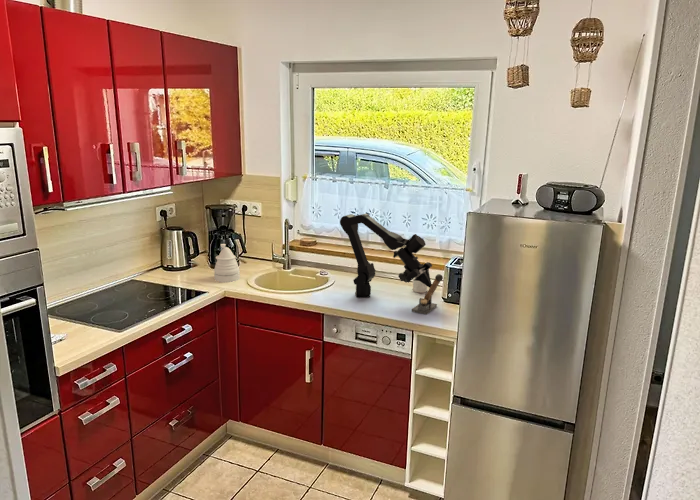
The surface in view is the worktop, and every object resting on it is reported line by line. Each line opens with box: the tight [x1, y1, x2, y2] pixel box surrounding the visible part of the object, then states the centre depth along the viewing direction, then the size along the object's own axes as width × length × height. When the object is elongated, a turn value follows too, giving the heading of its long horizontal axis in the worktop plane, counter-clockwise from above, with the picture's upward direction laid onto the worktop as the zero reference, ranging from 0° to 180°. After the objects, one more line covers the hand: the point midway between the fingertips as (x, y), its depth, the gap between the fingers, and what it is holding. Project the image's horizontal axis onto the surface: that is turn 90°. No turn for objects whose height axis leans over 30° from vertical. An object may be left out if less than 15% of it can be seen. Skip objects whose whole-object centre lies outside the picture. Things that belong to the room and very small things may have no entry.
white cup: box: [412, 278, 428, 294], centre depth 256 cm, size 8×8×10 cm
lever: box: [423, 273, 444, 303], centre depth 230 cm, size 3×4×15 cm
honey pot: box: [213, 243, 241, 283], centre depth 269 cm, size 13×13×18 cm
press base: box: [411, 293, 438, 315], centre depth 231 cm, size 7×12×6 cm, turn 150°
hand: (431, 287), depth 230 cm, fingers closed, pressing on lever
